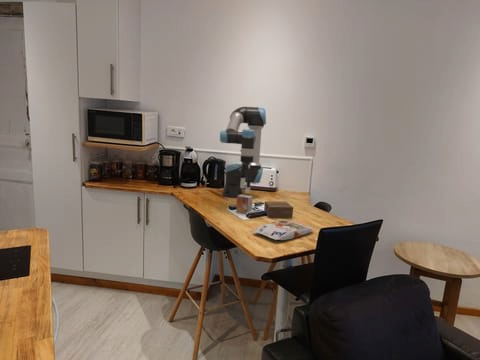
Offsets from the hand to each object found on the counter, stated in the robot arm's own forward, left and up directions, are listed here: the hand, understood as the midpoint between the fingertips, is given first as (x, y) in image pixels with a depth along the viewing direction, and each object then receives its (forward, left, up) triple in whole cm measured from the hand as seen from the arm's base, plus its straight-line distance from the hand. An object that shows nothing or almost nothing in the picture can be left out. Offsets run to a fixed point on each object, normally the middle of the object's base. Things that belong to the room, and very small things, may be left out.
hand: (244, 190), depth 218 cm
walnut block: (+6, +20, -14) cm, 25 cm away
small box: (0, 0, -14) cm, 14 cm away
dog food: (+39, +12, -15) cm, 44 cm away
